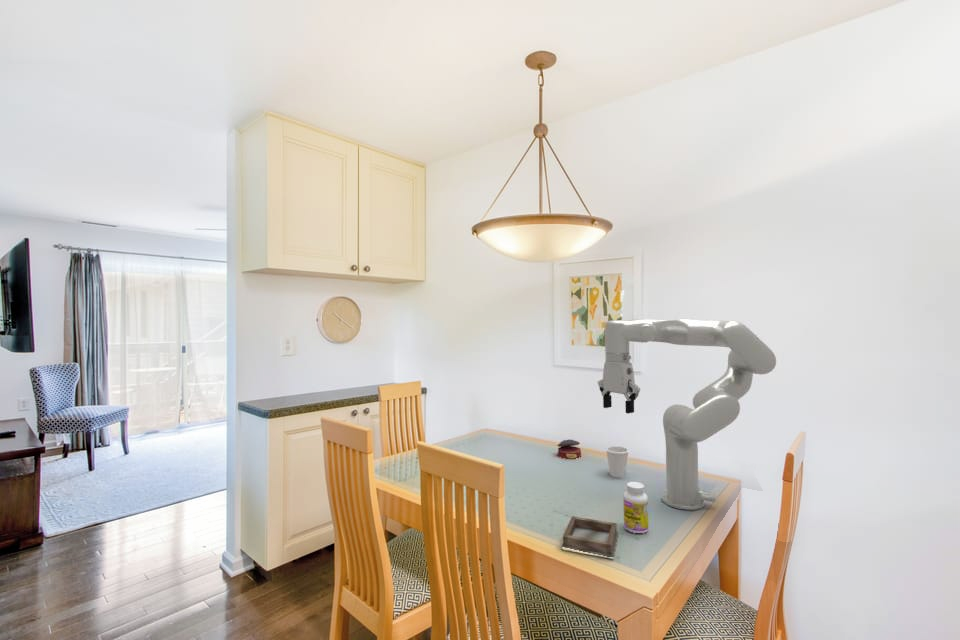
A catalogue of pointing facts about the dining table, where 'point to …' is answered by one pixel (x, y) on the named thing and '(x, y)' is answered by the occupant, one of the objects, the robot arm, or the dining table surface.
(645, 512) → the supplement bottle
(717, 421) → the robot arm
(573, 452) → the canned food
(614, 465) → the dixie cup
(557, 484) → the dining table surface
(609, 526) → the shallow square brown tray
